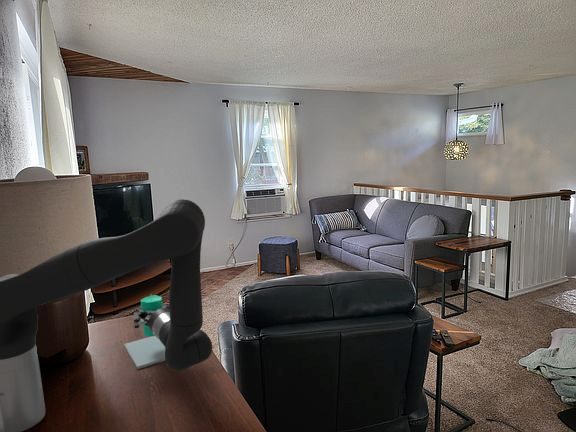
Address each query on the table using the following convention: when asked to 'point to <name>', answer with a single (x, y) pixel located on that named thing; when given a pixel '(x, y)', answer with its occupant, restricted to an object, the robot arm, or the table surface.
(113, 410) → the table surface
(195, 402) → the table surface
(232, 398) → the table surface
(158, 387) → the table surface
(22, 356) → the robot arm
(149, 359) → the tile
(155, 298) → the candle
